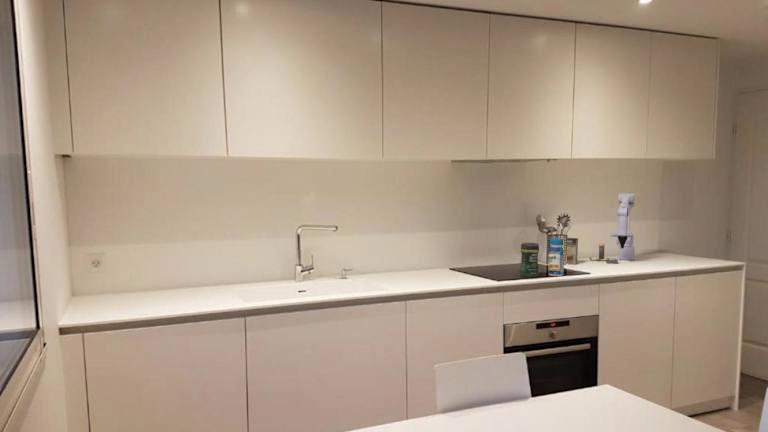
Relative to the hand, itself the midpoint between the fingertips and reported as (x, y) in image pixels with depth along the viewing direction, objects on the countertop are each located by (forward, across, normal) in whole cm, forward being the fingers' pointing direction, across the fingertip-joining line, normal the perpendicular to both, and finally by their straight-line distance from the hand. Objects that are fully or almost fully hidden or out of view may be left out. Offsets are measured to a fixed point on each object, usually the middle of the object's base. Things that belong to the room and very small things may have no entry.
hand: (622, 248), depth 330 cm
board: (+9, -12, +10) cm, 18 cm away
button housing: (+9, -6, -1) cm, 11 cm away
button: (+10, -6, -1) cm, 12 cm away
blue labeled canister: (+10, -41, -55) cm, 69 cm away
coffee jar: (+10, -55, -63) cm, 84 cm away
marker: (+8, -11, +10) cm, 17 cm away
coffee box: (+10, -32, -10) cm, 35 cm away
